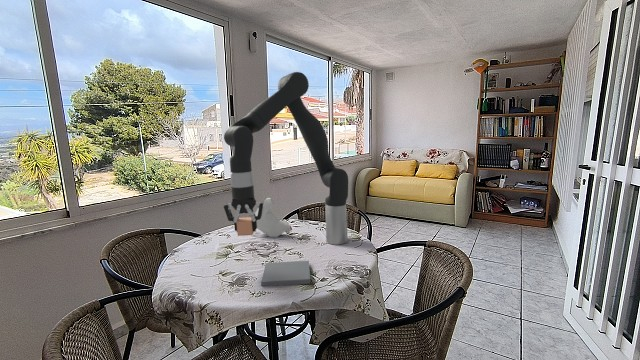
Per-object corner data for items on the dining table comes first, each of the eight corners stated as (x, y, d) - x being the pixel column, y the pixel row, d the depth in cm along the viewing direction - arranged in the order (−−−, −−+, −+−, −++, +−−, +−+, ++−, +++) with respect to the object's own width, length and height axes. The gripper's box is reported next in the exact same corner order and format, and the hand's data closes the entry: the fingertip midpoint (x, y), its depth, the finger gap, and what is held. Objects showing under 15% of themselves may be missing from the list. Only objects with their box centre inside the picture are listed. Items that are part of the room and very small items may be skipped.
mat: (309, 264, 112) (308, 260, 112) (310, 283, 99) (310, 279, 98) (266, 266, 111) (266, 262, 111) (261, 286, 98) (261, 281, 97)
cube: (254, 230, 109) (253, 217, 108) (252, 235, 104) (251, 221, 103) (240, 230, 109) (239, 217, 108) (237, 235, 104) (236, 222, 103)
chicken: (253, 244, 144) (291, 234, 139) (239, 207, 142) (276, 196, 137) (260, 239, 151) (295, 229, 146) (246, 203, 149) (282, 192, 144)
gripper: (264, 181, 107) (267, 226, 110) (224, 183, 107) (228, 228, 110) (261, 185, 100) (265, 234, 103) (218, 187, 99) (223, 236, 102)
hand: (246, 231), depth 106 cm, fingers closed on cube, 5 cm apart
